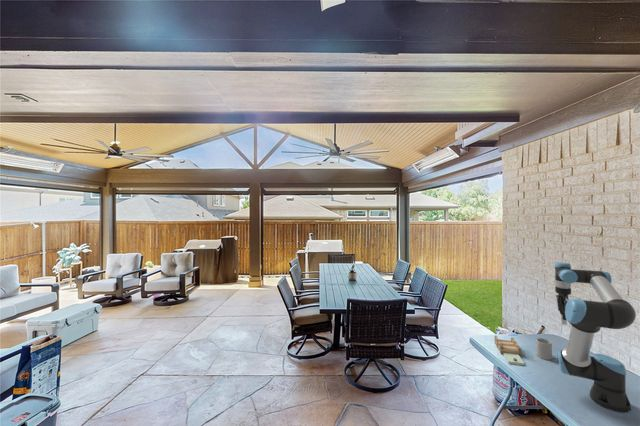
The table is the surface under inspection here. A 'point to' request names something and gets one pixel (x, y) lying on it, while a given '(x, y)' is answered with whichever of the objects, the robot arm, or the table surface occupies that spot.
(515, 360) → the lid
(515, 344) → the wooden slatted rack
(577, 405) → the table surface
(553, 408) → the table surface
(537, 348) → the mug
